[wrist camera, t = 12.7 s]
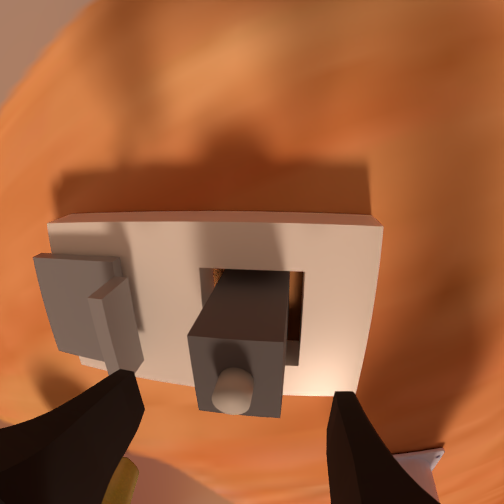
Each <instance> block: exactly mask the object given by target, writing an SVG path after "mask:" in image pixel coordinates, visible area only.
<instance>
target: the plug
mask: <svg viewBox="0 0 504 504" xmlns="http://www.w3.org/2000/svg"><path fill="white" fill-rule="evenodd" d="M289 280H290V271H273V270H245V269H225V271H224V272H223V274H222V276H221V277H220V279H219V281H218V283H217V284H216V286H215V288H214V289H213V291H212V293H211V295H210V296H209V298H208V300H207V302H206V303H205V305H204V307H203V308H202V310H201V312H200V314H199V315H198V317H197V319H196V321H195V322H194V324H193V326H192V328H191V329H190V331H189V333H188V335H187V339H188V346H189V353H190V360H191V366H192V372H193V378H194V384H195V390H196V396H197V402H198V407H199V410H202V411H210V412H217V413H226V414H231V415H246V416H258V417H273V418H280V415H281V405H282V394H283V384H284V372H285V361H286V349H287V336H288V313H289Z"/></svg>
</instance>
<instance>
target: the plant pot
mask: <svg viewBox="0 0 504 504" xmlns="http://www.w3.org/2000/svg"><path fill="white" fill-rule="evenodd" d="M138 475H139V471H138V469H137V467H136V466H135V464H134V463H133V462H132V461H131V460H130V459H128V458H126V457H122V459H121V461H120V463H119V464H118V466H117V468H116V470H115V472H114V474H113V476H112V478H111V480H110V482H109V485H108V488H107V490H106V493H105V496H104V498H103V501H102V504H130V502H131V499H132V495H133V492H134V488H135V485H136V482H137V478H138Z"/></svg>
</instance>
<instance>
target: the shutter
mask: <svg viewBox="0 0 504 504" xmlns="http://www.w3.org/2000/svg"><path fill="white" fill-rule="evenodd" d="M33 260H34V265H35V269H36V274H37V278H38V282H39V286H40V290H41V294H42V298H43V301H44V305H45V309H46V312H47V315H48V319H49V322H50V325H51V328H52V332H53V335H54V338H55V341H56V344H57V347H58V349H59V351H62V352H66V353H70V354H74V355H78V356H82V357H86V358H90V359H94V360H99V361H103V362H105V365H106V368H107V371H108V374H109V375H111V374H112V373H114V372H116V371H117V370H119V369H124V370H129V371H134V374H135V373H136V371H137V370H138V368H139V367H140V366H141V364H142V363H143V361H144V357H143V352H142V348H141V344H140V339H139V334H138V330H137V325H136V320H135V315H134V309H133V304H132V298H131V293H130V287H129V281H128V277H123V273H122V267H121V260H120V257H116V256H93V255H72V254H52V253H40V254H38V255H36V256H35V257H33Z"/></svg>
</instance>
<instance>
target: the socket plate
mask: <svg viewBox="0 0 504 504" xmlns="http://www.w3.org/2000/svg"><path fill="white" fill-rule="evenodd" d="M47 228H48V234H49V240H50V246H51V251H52V254H72V255H93V256H116V257H120V260H121V267H122V273H123V277H128V281H129V287H130V293H131V298H132V304H133V309H134V315H135V320H136V325H137V330H138V334H139V339H140V344H141V348H142V352H143V357H144V361H143V363H142V364H141V366H140V367H139V368H138V370H137V371H136V373H135V377H140V378H145V379H150V380H156V381H161V382H167V383H174V384H180V385H187V386H194V387H195V384H194V378H193V372H192V366H191V360H190V353H189V346H188V339H187V335H188V333H189V331H190V329H191V328H192V326H193V324H194V322H195V321H196V319H197V317H198V315H199V314H200V312H201V310H202V308H203V307H204V305H205V303H206V302H207V300H208V298H209V296H210V295H211V293H212V291H213V289H214V277H213V268H220V269H245V270H273V271H303V287H302V304H301V321H300V335H299V341H292V340H287V349H286V361H285V372H284V384H283V394H282V395H300V396H334V393H335V391H353V392H354V393H355V394H356V390H357V386H358V382H359V377H360V373H361V369H362V364H363V360H364V355H365V350H366V345H367V340H368V335H369V329H370V324H371V318H372V312H373V306H374V300H375V294H376V287H377V280H378V272H379V264H380V256H381V247H382V238H383V226H382V225H381V224H380V223H379V222H378V221H377V220H376V219H375V218H374V217H373V216H372V215H360V214H337V213H307V212H264V211H148V212H107V213H79V214H69V215H67V216H64V217H62V218H59V219H56V220H54V221H51V222H49V223H47ZM79 358H80V361H81V364H82V365H86V366H90V367H94V368H98V369H102V370H107V368H106V365H105V362H103V361H99V360H94V359H90V358H86V357H82V356H79Z"/></svg>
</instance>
